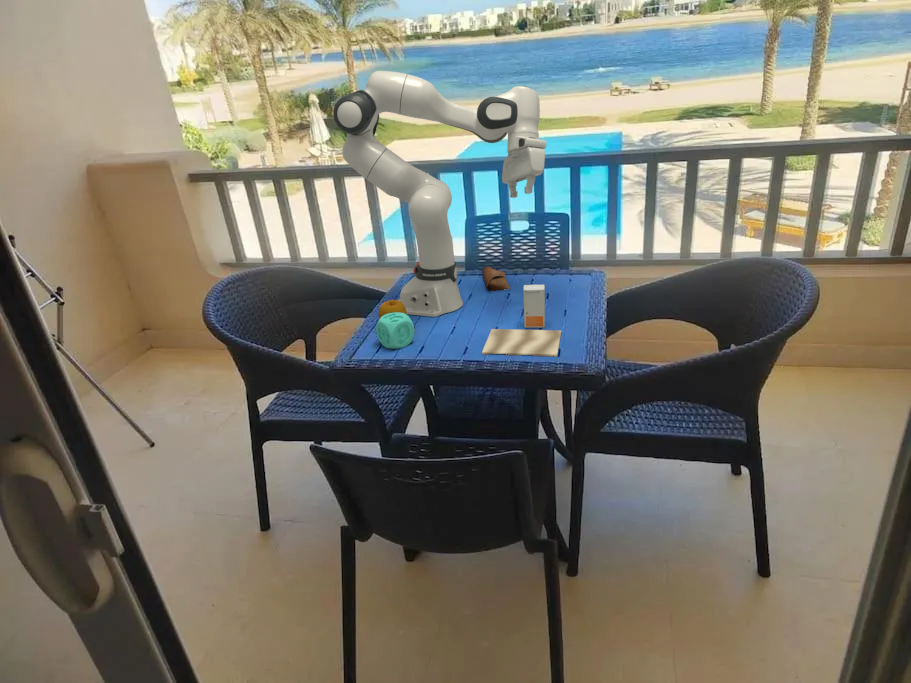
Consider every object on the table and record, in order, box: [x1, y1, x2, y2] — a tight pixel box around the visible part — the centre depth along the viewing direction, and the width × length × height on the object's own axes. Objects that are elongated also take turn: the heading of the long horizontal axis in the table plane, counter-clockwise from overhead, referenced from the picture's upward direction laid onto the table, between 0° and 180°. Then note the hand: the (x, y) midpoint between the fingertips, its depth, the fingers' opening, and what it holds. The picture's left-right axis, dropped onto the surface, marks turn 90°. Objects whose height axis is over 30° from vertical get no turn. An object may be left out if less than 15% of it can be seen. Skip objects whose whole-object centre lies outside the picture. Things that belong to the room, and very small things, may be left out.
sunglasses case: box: [481, 266, 511, 292], centre depth 214 cm, size 18×7×7 cm, turn 4°
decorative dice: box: [375, 312, 416, 350], centre depth 174 cm, size 8×8×8 cm
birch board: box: [481, 328, 562, 358], centre depth 169 cm, size 20×15×1 cm
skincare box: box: [523, 284, 546, 329], centre depth 176 cm, size 6×4×12 cm
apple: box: [377, 299, 407, 320], centre depth 184 cm, size 8×8×9 cm
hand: (520, 195), depth 177 cm, fingers open, 8 cm apart
